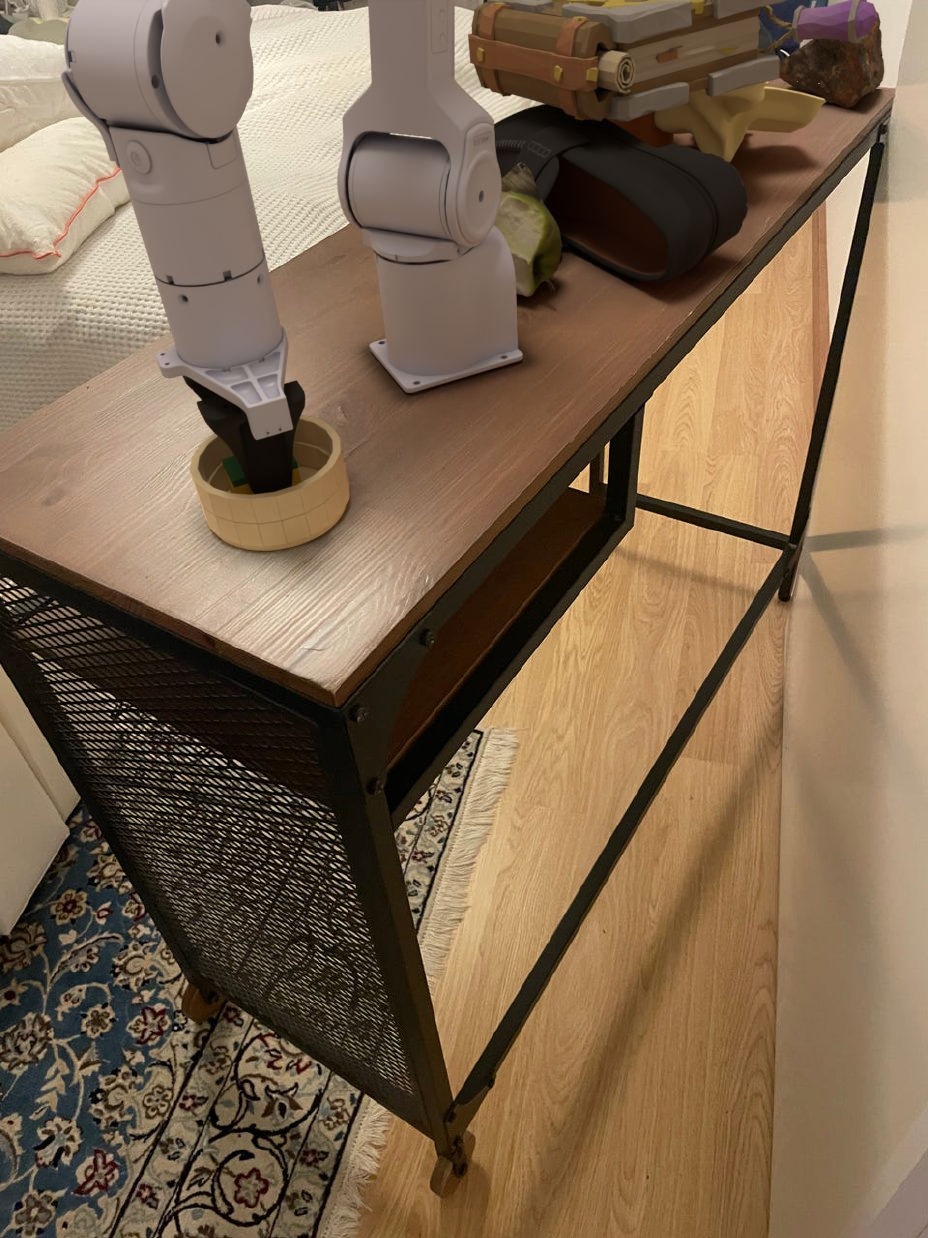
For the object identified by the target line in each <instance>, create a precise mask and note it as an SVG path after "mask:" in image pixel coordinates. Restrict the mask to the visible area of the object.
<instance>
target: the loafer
mask: <svg viewBox="0 0 928 1238" xmlns="http://www.w3.org/2000/svg"><path fill="white" fill-rule="evenodd" d="M494 132H495V149H496V157H497V162H498V165H499V168H500V173H501V179H502V178H503V177H504V176H505V175H506V174H507V173H508V172H509V171H511V170H512V169H513V168H514V167H515V166H516V165H518V164H519V163H521V162H522V163H524V164H525V165H526V166H527V168H528V169H529V170H530V172H531V174H532V176H533V178H534V181H535V184H536V186H537V189H538V192H539V195H540V198H541V200H542V201H543V203H544V204H545V206H546V207H547V209H548V210H549V212H550V213H551V215H552V216H553V218H554V219H555V221H556V223H557V225H558V227H559V230H560V236H561V250H563V248H567V249H576V250H578V251H579V252H581V253H583V254H584V255H586V256H589V258H591V259H593V260H594V261H595V262H598V263H599V264H600V265H603V266H605V267H607V268H608V269H610V270H612V271H614V272H617V273H619V274H621V275H623V276H626V277H629V278H631V279H634V280H636V281H639V282H643V283H648V284H658V283H659V284H660V283H664V282H668V281H671V280H673V279H675V278H676V277H677V276H680V275H682V274H684V273H686V272H687V271H689V270H691V269H692V268H693V267H694V266H695V265H696V264H697V263H700V262H702V261H703V260H705V259H706V258H707V257H709V256H710V255H711V254H713V253H714V252H716V250H718V249H719V248H720V247H722V246H723V245H725V244H726V243H727V242H729V241H730V240H731V239H732V238H734V237H736V236H737V235H738V234H739V233H740V232H741V230H742V228H743V222H744V221H745V219H746V218H747V215H748V210H749V207H748V206H747V205H748V203H749V195H748V191H747V186H746V185H745V184H743V180H742V178H741V173H740V171H738V169H736V167H735V166H734V165H733V164H732V163H731V162H727V161H724V159H723V158H721V157H719V156H716V155H713V154H707V153H702V152H701V151H700V149H699V150H698V149H695V148H693V147H690V146H684V145H681V144H678V143H677V144H676V143H673V144H670V145H667V146H664V147H660V148H655V147H653V146H651V145H649V144H647V143H645V142H643V141H642V140H640V139H638V138H637V137H635V136H634V135H632V134H631V133H629V132H627V131H626V130H624V129H623V128H621V127H619V126H618V125H616V124H614V123H613V122H611V121H609V120H608V119H606V118H604V119H602V120H601V121H596V120H591V119H589V120H587V119H584V120H578V119H575V116H571V115H568V114H566V113H565V111H564V110H563V109H561V108H557V107H554V106H551V105H547V104H544V103H543V104H539V105H533V106H530V107H527V108H525V109H522V110H519V111H517V112H515V113H512V114H510V115H508V116H505V117H504V118H502V119H500V120H498V121H497V122H494Z"/></svg>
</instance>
